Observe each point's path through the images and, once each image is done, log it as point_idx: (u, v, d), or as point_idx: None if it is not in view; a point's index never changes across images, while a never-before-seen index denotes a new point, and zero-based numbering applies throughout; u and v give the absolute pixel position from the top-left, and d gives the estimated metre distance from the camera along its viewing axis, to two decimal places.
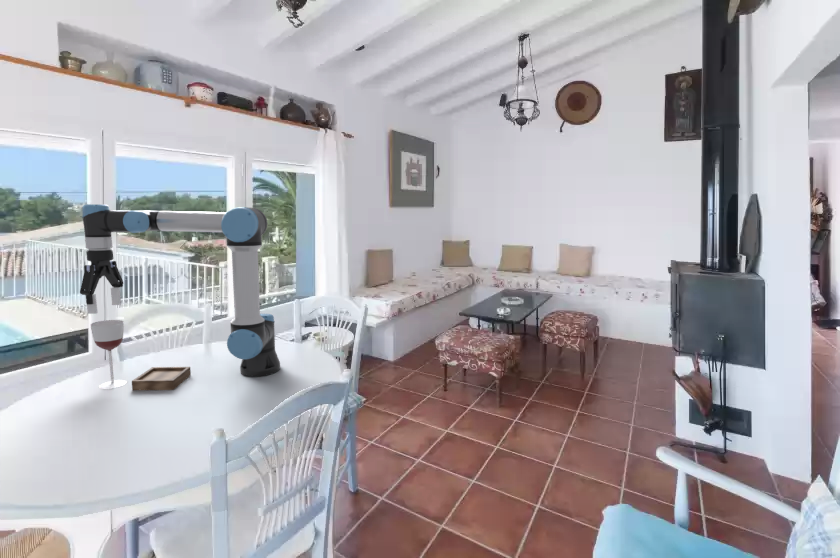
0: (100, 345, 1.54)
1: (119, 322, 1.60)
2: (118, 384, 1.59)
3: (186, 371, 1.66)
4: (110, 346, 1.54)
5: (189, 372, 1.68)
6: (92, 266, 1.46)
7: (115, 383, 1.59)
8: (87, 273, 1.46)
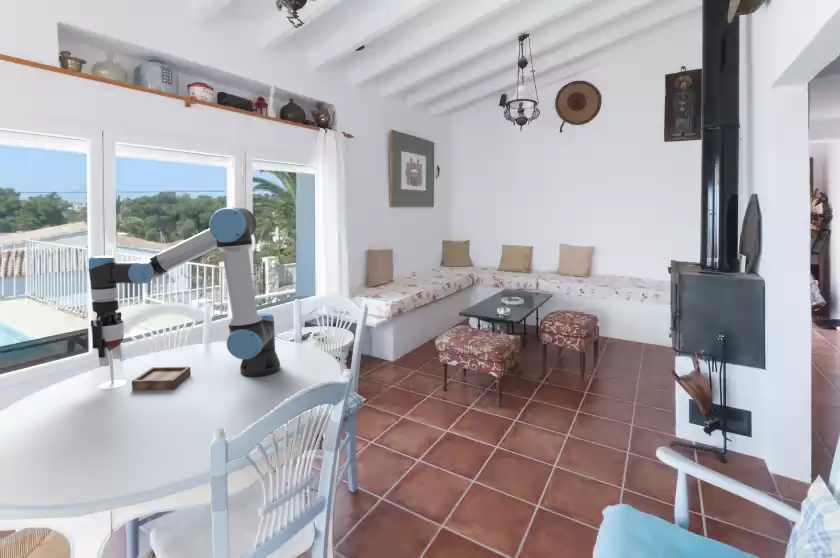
0: None
1: (119, 322, 1.60)
2: (118, 384, 1.59)
3: (186, 371, 1.66)
4: (110, 346, 1.54)
5: (189, 372, 1.68)
6: (98, 322, 1.49)
7: (115, 383, 1.59)
8: (95, 328, 1.50)
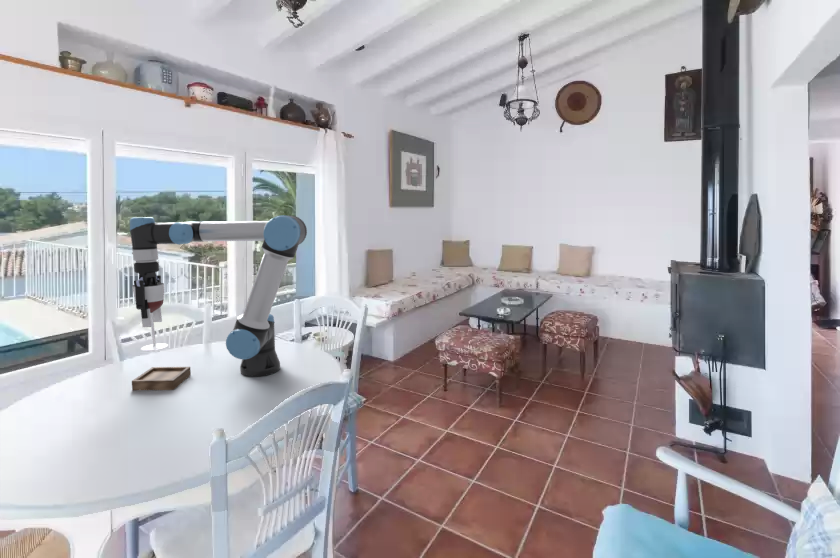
0: None
1: (159, 285, 1.60)
2: (160, 346, 1.59)
3: (186, 371, 1.66)
4: (152, 307, 1.54)
5: (189, 372, 1.68)
6: (141, 281, 1.49)
7: (157, 345, 1.59)
8: (138, 288, 1.50)
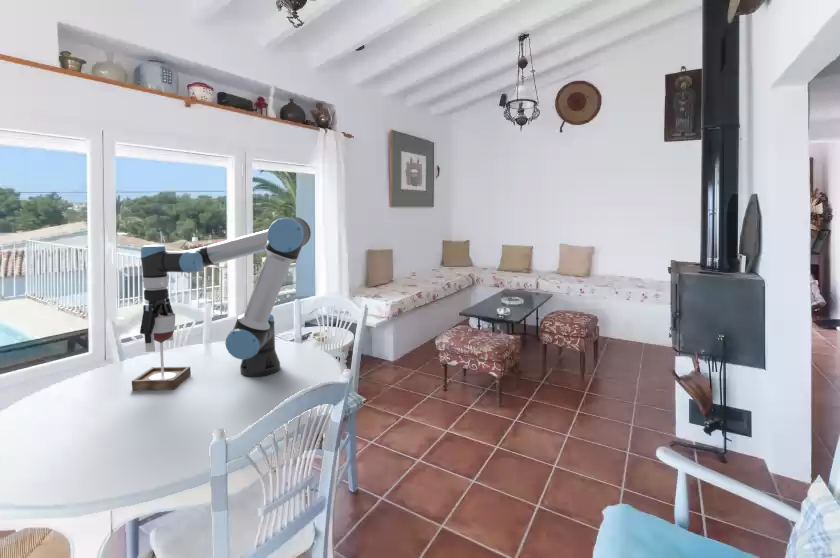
0: None
1: (170, 315, 1.62)
2: (168, 376, 1.60)
3: (186, 371, 1.66)
4: (163, 337, 1.56)
5: (189, 372, 1.68)
6: (151, 306, 1.51)
7: (165, 375, 1.61)
8: (146, 313, 1.50)
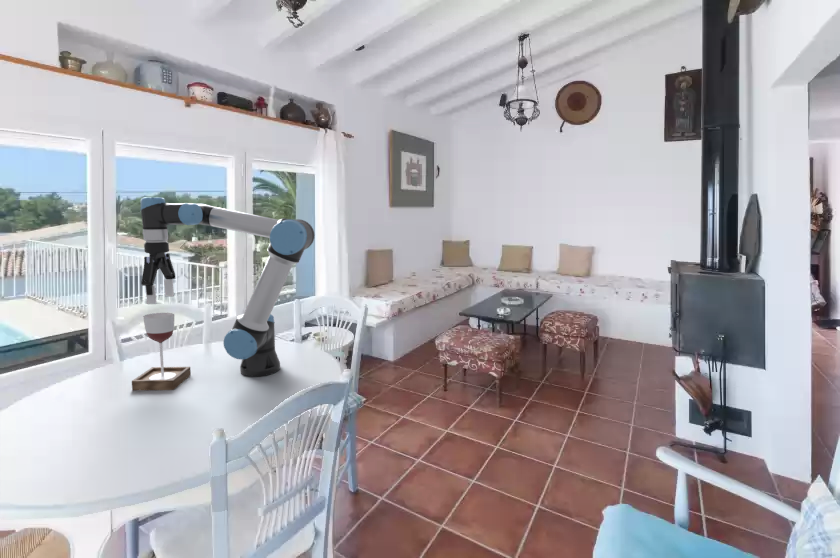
0: (152, 337, 1.55)
1: (169, 315, 1.62)
2: (168, 376, 1.60)
3: (186, 371, 1.66)
4: (162, 338, 1.56)
5: (189, 372, 1.68)
6: (152, 257, 1.50)
7: (165, 375, 1.61)
8: (147, 264, 1.49)
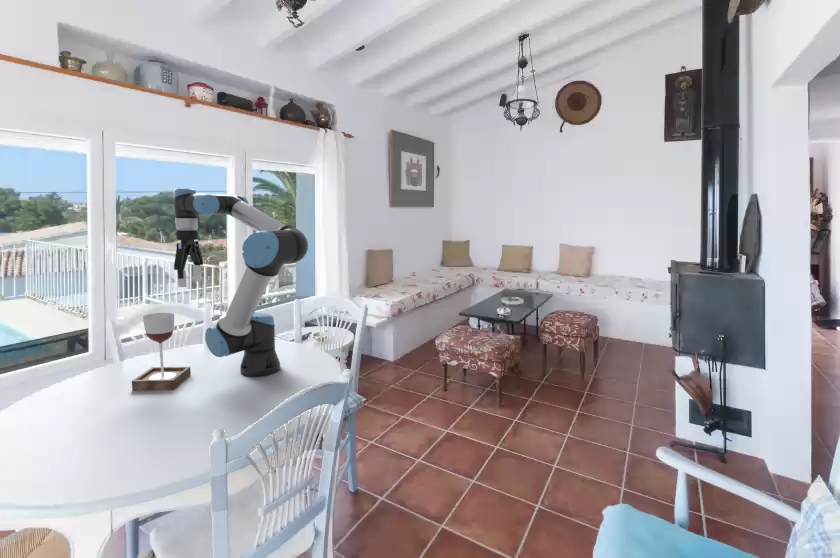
0: (152, 337, 1.55)
1: (169, 315, 1.62)
2: (168, 376, 1.60)
3: (186, 371, 1.66)
4: (162, 338, 1.56)
5: (189, 372, 1.68)
6: (183, 244, 1.62)
7: (165, 375, 1.61)
8: (179, 250, 1.62)
